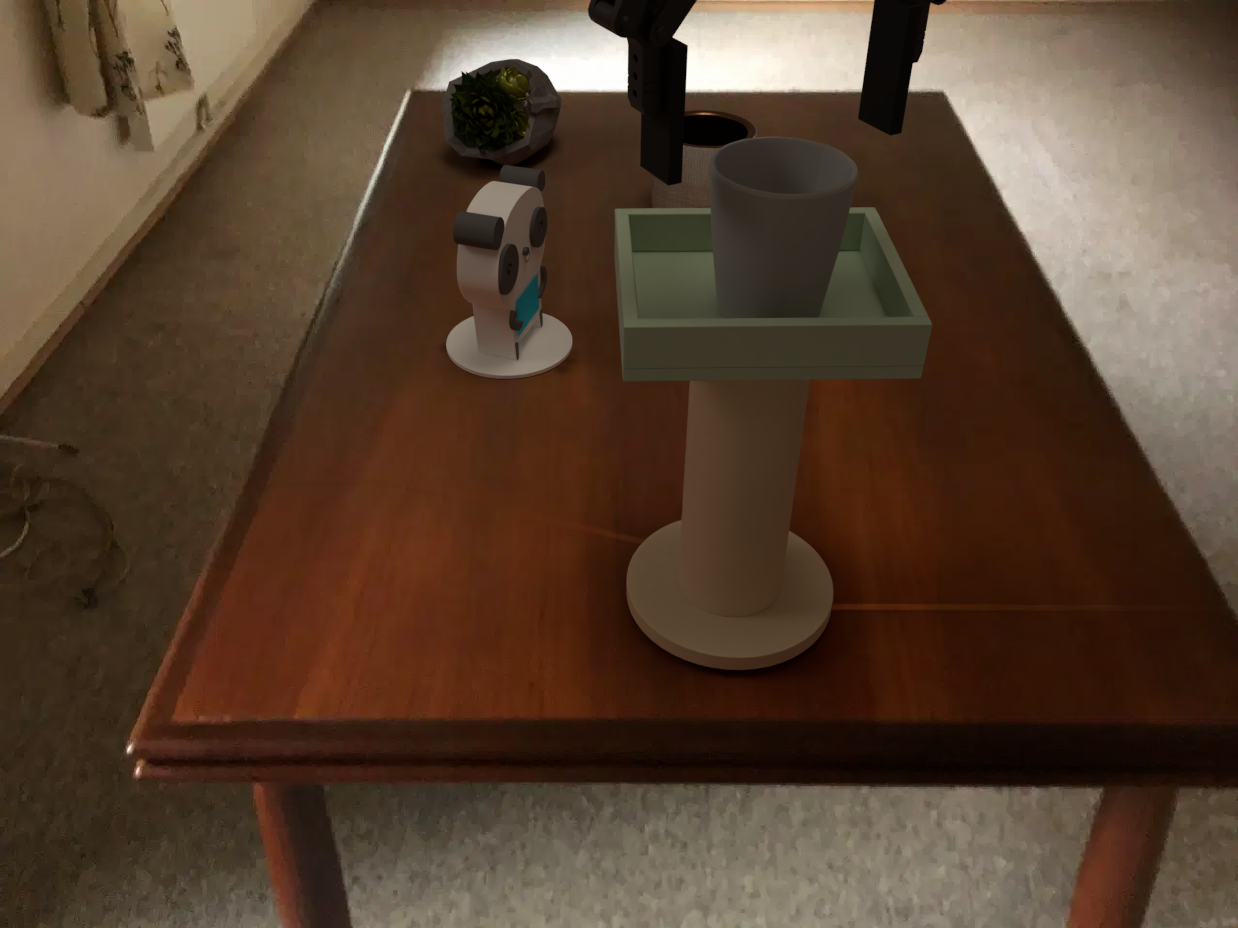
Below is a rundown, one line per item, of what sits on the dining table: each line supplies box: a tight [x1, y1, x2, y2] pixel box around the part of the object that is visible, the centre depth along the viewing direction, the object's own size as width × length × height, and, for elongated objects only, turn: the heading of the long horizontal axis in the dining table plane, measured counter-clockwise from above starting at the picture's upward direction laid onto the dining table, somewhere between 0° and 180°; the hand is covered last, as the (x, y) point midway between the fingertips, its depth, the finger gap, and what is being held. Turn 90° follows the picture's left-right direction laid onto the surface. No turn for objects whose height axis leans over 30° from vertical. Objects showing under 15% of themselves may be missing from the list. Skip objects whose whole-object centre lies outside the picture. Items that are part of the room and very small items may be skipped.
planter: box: [650, 109, 758, 208], centre depth 122 cm, size 11×11×10 cm
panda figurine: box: [445, 165, 573, 380], centre depth 98 cm, size 12×11×15 cm
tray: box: [613, 206, 933, 671], centre depth 70 cm, size 16×14×25 cm
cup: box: [709, 135, 859, 318], centre depth 62 cm, size 8×10×8 cm
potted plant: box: [441, 58, 562, 167], centre depth 132 cm, size 12×13×15 cm
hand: (774, 150), depth 58 cm, fingers open, 13 cm apart
